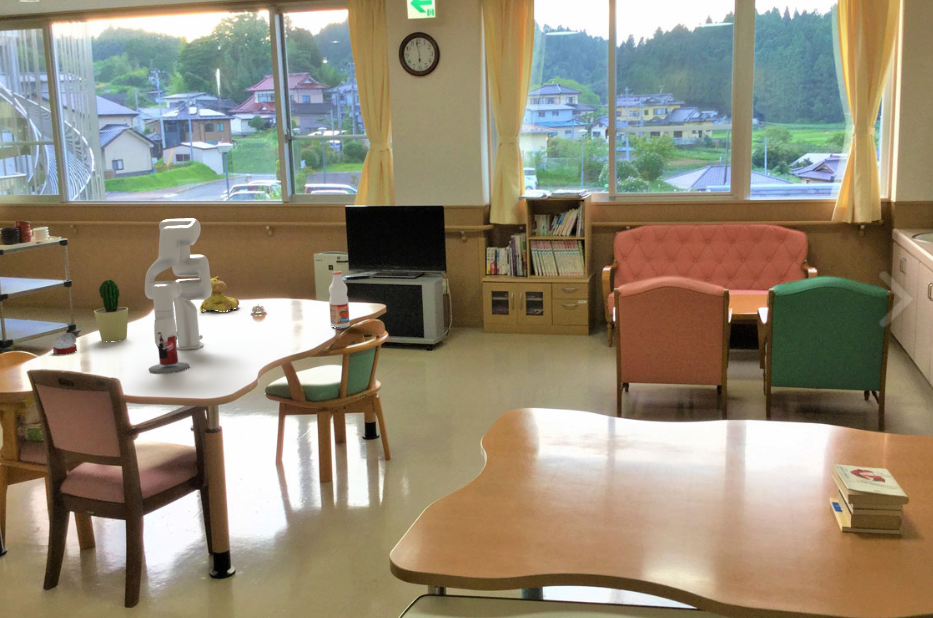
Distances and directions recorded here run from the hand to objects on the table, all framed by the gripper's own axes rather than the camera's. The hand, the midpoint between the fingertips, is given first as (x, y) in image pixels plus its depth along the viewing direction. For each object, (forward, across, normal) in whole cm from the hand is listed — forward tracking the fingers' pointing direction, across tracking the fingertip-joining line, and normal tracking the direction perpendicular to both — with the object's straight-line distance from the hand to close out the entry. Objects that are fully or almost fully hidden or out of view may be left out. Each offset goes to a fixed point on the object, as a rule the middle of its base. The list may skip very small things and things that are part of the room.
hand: (168, 355), depth 358 cm
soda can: (+4, 0, 0) cm, 4 cm away
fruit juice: (+6, -88, +44) cm, 98 cm away
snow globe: (+6, -26, -67) cm, 72 cm away
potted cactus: (+6, -53, -59) cm, 79 cm away
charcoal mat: (+5, 0, 0) cm, 5 cm away
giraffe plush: (+7, -132, -44) cm, 139 cm away
